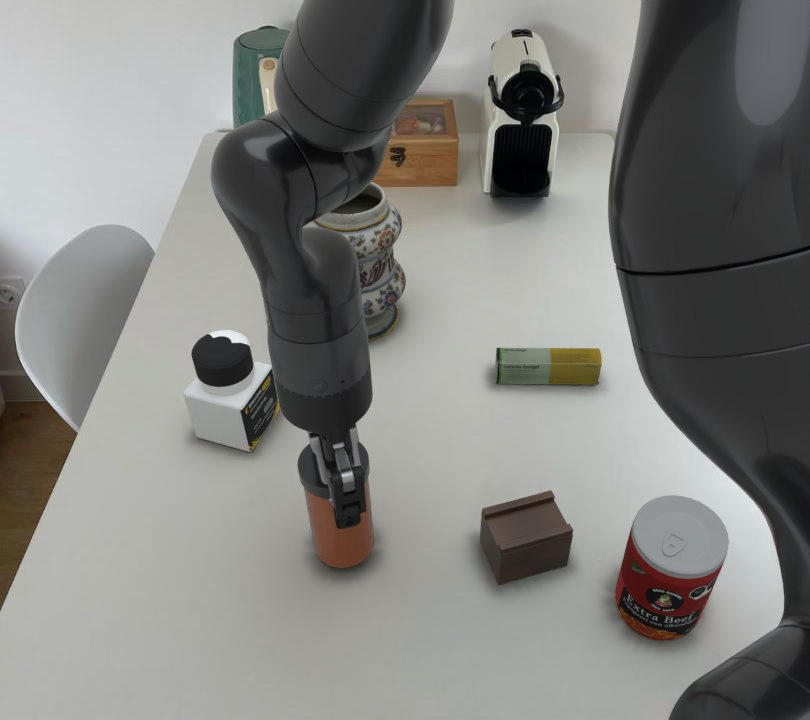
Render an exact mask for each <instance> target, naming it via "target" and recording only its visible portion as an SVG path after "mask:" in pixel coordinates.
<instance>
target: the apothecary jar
mask: <svg viewBox="0 0 810 720" xmlns="http://www.w3.org/2000/svg"><path fill="white" fill-rule="evenodd" d="M306 227H322V228H328V229H332V230H335V231H337V232H339V233H341V234H342V235H344V236H345V237H346V238H347V239H348V240H349V241H350V242H351V244H352V245H353V247H354V250H355V252H356V255H357V259H358V267H359V275H360V286H361V298H362V309H363V315H364V319H365V322H366V326H367V332H368V341H369V342H371V341H374V340H377V339H380V338H382V337H384V336H386V335H387V334H389V333H390V332H391V331H392V330H393V329H394V328H395V327H396V325H397V323H398V321H399V319H400V318H399V317H400V311H399V308H398V306H397V303H398V301H399V300H400V299H401V298H402V296H403V295H404V292H405V288H406V284H407V279H406V274H405V271H404V269H403V267H402V265H401V264H400V263H399V261H397V259H396V258H395V256H394V255H395V254H394V244H395V243H396V242H397V241H398V239H399V238H400V235H401V233H402V230H403V229H402V228H403V221H402V216H401V214H400V212H399V210H398V209H397V207H396V206H395V205H394V204H393V203H392V202H390V201H389V200H388V199H387V195H386V192H385V191H384V189H383V188H382V187H381V186H380V185H379V184H377V183H375V182H374V181H371V183H370V184H369V185H368V186H367V187H366V188H365V189H364V190H363V191H362V192H361V193H360V194H358V195H357V196H356V197H354V198H353V199H351V200H350V201H348V202H346V203H345V204H343V205H341V206H339V207H337V208H336V209H334V210H332V211H330V212H328V213H326V214H325V215H323V216H321V217H319V218H317V219H316V220H314V221H312V222H310V223H308V224H307V225H305V226H303V228H306Z"/></svg>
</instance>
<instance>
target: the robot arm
mask: <svg viewBox="0 0 810 720" xmlns="http://www.w3.org/2000/svg"><path fill="white" fill-rule="evenodd" d="M455 3H456V2H455V0H303V1H302V3H301V6H300V7H299V10H298V13H297V15H296V18H295V20H294V22H293V23H292V27H291V29H290V31H289V34H288V36H287V39H286V41H285V43H284V45H283V47H282V50H281V51H280V55H279V58H278V60H277V63H276V67H275V71H274V77H273V87H272V88H273V98H274V102H275V105H276V108H277V109H276V110H273V111H272V112H269V113H267V114H265V115H262V116H260V117H257V118H256V119H254V120H251V121H249V122H247V123H244V124H242V125H240V126H238V127H235V128H234V129H231V130H230V131H229V132H227V133H226V134H224V135H223V137H222V138H220V140H219V141H218V142H217V145H216V146H215V148H214V151H213V153H212V157H211V163H210V172H209V173H210V174H209V175H210V176H209V177H210V184H211V189H212V192H213V195H214V197H215V199H216V201H217V203H218V206H219V208H220V209H221V211H222V213H223V214H224V216H225V218H226V219H227V221H228V222H229V224H230V226H231V227H232V230H233V231H234V232H235V234H236V236H237V238H238V240H239V241H240V243H241V246H242V247H243V250H244V251H245V253H246V255H247V258H248V260H249V261H250V263H251V266H252V268H253V270H254V272H255V274H256V277H257V279H258V282H259V287H260V292H261V297H262V302H263V308H264V314H265V317H266V326H267V328H266V329H267V334H266V335H267V336H266V337H267V348H268V354H269V358H270V363H271V364H270V365H271V366H272V370H273V375H274V381H275V386H276V391H277V396H278V402H279V407H280V409H279V410H280V411H281V414H282V415H283V417H284V419H286V420H287V422H288V423H290V424H291V425H293V426H295V427H296V428H298V429H300V430H303V431H306V432H307V435H308V441H309V443H310V445H311V448H312V451H313V452H314V453H315V455H316V460H317V465H318V469H319V474H320V477H321V480H322V482H323V483H324V484H327V485H328V488H329V493H330V498H329V501H330V504H331V503H332V506H333V513H334V519H335V523H336V527H337V528H338V529H346V528H350V527H354V526H357V525H358V524H359V523H360V522H361V516H360V513H364V512H366V507H367V505H366V502H365V486H364V476H365V473H364V470H363V469H362V468H361V463H360V457H359V452H358V447H357V444H358V442H360V436H359V431H358V427H357V423H358V422H359V421H360V420H361V419H362V418H364V416H365V415H366V414H367V413H368V411H369V409H370V408H371V405H372V403H373V396H374V395H373V392H374V391H373V380H372V366H371V355H370V354H371V353H370V343H369V342H370V341H368V332H367V326H366V322H365V319H364V315H363V309H362V298H361V286H360V275H359V267H358V259H357V255H356V252H355V250H354V247H353V245H352V244H351V242H350V241H349V240H348V239H347V238H346V237H345V236H344V235H342V234H341V233H339V232H337V231H335V230H332V229H328V228H322V227H306V228H303V226H305V225H307V224H308V223H310V222H312V221H314V220H316V219H317V218H319V217H321V216H323V215H325V214H326V213H328V212H330V211H332V210H334V209H336V208H337V207H339V206H341V205H343V204H345V203H346V202H348V201H350V200H351V199H353V198H354V197H356V196H357V195H358V194H360V193H361V192H362V191H363V190H364V189H365V188H366V187H367V186H368V185H369V184H370V183H371V182H373V180H374V179H375V178H376V176H377V175H378V173H379V172H380V170H381V168H382V165H383V162H384V158H385V155H386V151H387V149H388V144H389V143H390V139H391V134H392V131H393V130H392V129H393V124H394V123H395V122H396V121H397V120H398V118H399V117H400V115H401V114H402V112H403V111H404V109H405V108H406V106H408V104H409V102H410V101H411V100H412V98H413V96H414V95H415V93H416V92H417V90H419V88H420V86H421V85H422V83H423V82H424V80H425V79H426V78H427V76H428V75H429V73H430V72H431V71H432V68H433V67H434V65H435V63H436V62H437V60H438V58H439V56H440V54H441V52H442V49H443V47H444V45H445V42H446V40H447V37H448V35H449V32H450V29H451V25H452V21H453V16H454V10H455V9H454V8H455ZM639 8H640V9H639V10H640V11H639V19H638V20H639V21H638V25H637V31H636V37H635V43H634V50H633V54H632V58H631V59H632V60H631V62H630V63H631V64H630V67H629V68H630V69H629V72H628V77H627V81H626V87H625V90H624V94H623V99H622V104H621V107H620V112H619V113H620V114H619V118H618V123H617V129H616V134H615V140H614V146H613V151H612V157H611V164H610V171H609V178H608V179H609V182H608V193H607V221H608V232H609V234H608V235H609V240H610V247H611V252H612V259H613V263H614V264H615V271H616V276H617V280H618V285H619V289H620V294H621V298H622V303H623V308H624V311H625V316H626V321H627V326H628V329H629V334H630V339H631V344H632V347H633V351H634V352H633V353H634V355H635V360H636V363H637V367H638V370H639V373H640V375H641V377H642V381H643V383H644V385H645V386H646V388H647V390H648V391H649V394H650V395H651V397H652V398H653V400H654V401H655V402H656V403H657V405H658V406H659V408H660V409H661V410H662V412H663V413H664V414H665V416H667V418H668V419H669V420H670V421H671V422H672V424H674V426H675V427H676V428H677V429H678V430H679V431H680V432H681V434H683V435H684V436H685V437H686V438H687V439H688V441H689V442H691V444H693V446H695V448H696V449H698V451H700V452H701V453H702V454H703V455H704V456H705V457H706V458H707V459H708V460H709V461H710V462H711V463H713V464H714V465H715V467H717V468H718V469H719V470H720V471H722V472H723V473H724V474H725V475H726V476H727V477H728V478H729V479H730V480H731V481H733V482H734V484H736V485H737V486H738V488H740V489H741V490H742V492H743V493H744V494H746V496H748V497H749V498H750V500H751V501H752V502H754V504H755V506H756V507H757V508H758V509H759V511H760V512H761V514H762V516H763V518H764V519H765V522H766V523H767V525H768V528H769V530H770V534H771V537H772V541H773V545H774V547H775V552H776V557H777V560H778V565H779V569H780V575H781V582H782V590H783V612H782V616H781V618H780V621H779V624H778V625H777V626H776V627H775V628H773V629H772V630H770V631H769V632H767V633H766V634H764V635H762V636H761V637H760V638H758V639H757V640H755V641H753V642H752V643H750V644H749V645H747V646H745V647H744V648H743V649H741V650H740V651H738V652H736V653H735V654H733V655H732V656H730V657H729V658H728V659H726V660H724V661H723V662H722V663H720V664H719V665H717V666H715V667H714V668H713V669H711V670H709V671H707V672H706V673H704V674H703V675H702V676H700V677H698V678H697V679H696V680H694V681H693V682H692V683H691V684H690V685H688V686H687V688H686V689H685V690H684V691H683V692H682V693H681V694H680V697H678V699H677V701H676V702H675V704H674V706H673V708H672V710H671V712H670V714H669V717H668V720H810V0H640V7H639ZM350 455H351V456H352V461H351V462H349V459H348V458H349V456H350ZM324 460H325V462H327V463H330V464H333V463H336V464H337V467H336V468H331V469H327V468H325V463H324Z"/></svg>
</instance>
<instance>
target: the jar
mask: <svg viewBox="0 0 810 720" xmlns="http://www.w3.org/2000/svg"><path fill="white" fill-rule="evenodd" d="M357 447H358V452H359V457H360V463H361V468H362V469H363V470H364V473H365V476H364V486H365V502H366V505H367V507H366V512H364V513H360V516H361V522H360V523H359V524H358V525H357V526H354V527H350V528H346V529H338V528H337V527H336V523H335V519H334V513H333V506H332V503H331V504H330V501H329V498H330V493H329V488H328V485H327V484H324V483H323V482H322V480H321V477H320V474H319V469H318V465H317V460H316V455H315V453H314V452H313V451H312V448H311V445H310V442H309V443H308V444H307V445H306V446H304V448H303V449H302V450H301V452H300V454H299V456H298V458H297V472H298V477H299V481H300V484H301V486H302V487H303V492H304V496H305V501H306V502H305V503H306V507H307V514H308V519H309V525H310V529H311V536H312V541H313V546H314V551H315V553H316V555H317V557H318V558H319V559H320V560H321V561H322V562H323V563H325V564H326V565H328V566H331V567H333V568H342V569H343V568H350V567H354V566H357V565H358V564H361V563H362V562H364V561H365V560H366V559H367V558H368V557H369V556H370V555H371V554H372V551H373V550H374V545H375V533H374V532H375V531H374V521H373V511H372V500H371V492H370V491H371V490H370V489H371V488H370V479H369V476H370V473H371V472H370V471H371V466H370V457H369V453H368V450H367V448H366V447H365V446H364V445H363V444H362V443H361V441H359V442H358V444H357ZM348 459H349V462H351V461H352V456H351V455H350V456H349V458H348ZM324 463H325V468H327V469H331V468H336V467H337V464H336V463H333V464H330V463H327V462H325V460H324Z"/></svg>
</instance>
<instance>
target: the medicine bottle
mask: <svg viewBox="0 0 810 720" xmlns="http://www.w3.org/2000/svg"><path fill="white" fill-rule="evenodd" d="M190 355H191V359H192V363H193V368H194V370H195V374H196V376H195V377H194V378H193V379H192V381H191V382H190V383H189V385H188V386H187V387H186V388H185V390H184V391H183V393H182V394H183V397H184V402H185V404H186V408H187V411H188V415H189V418H190V421H191V424H192V427H193V431H194V434H195V436H196V438H198V439H201V440H204V441H205V440H206V441H209V442H212V443H215V444H220V445H222V446H223V445H224V446H225V447H226V446H227V447H230V448H232V449H233V448H235V449H237V450H241V451H245V452H249V453H251V452H253V451H254V449H255V448H256V446H257V444H259V442H260V440H261V439H262V437H263V436H264V434H265V433H266V431H267V429H268V428H269V426H270V425H271V424H272V422H273V421H274V419H275V418H276V416H277V414H278V413H279V411H280V410H281V409H280V405H279V400H278V395H277V390H276V385H275V380H274V374H273V369H272V364H268V363H264V362H260V361H257V360H254V357H253V353H252V348H251V343H250V340H249V339H248V337H246V336H245V335H244V334H242V333H240V332H238V331H236V330H231V329H220V330H215V331H211V332H209V333H207V334H205V335H203V336H202V337H200V338H199V339H197V341H196V343H194V345H193V346H192V348H191V353H190Z"/></svg>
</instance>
